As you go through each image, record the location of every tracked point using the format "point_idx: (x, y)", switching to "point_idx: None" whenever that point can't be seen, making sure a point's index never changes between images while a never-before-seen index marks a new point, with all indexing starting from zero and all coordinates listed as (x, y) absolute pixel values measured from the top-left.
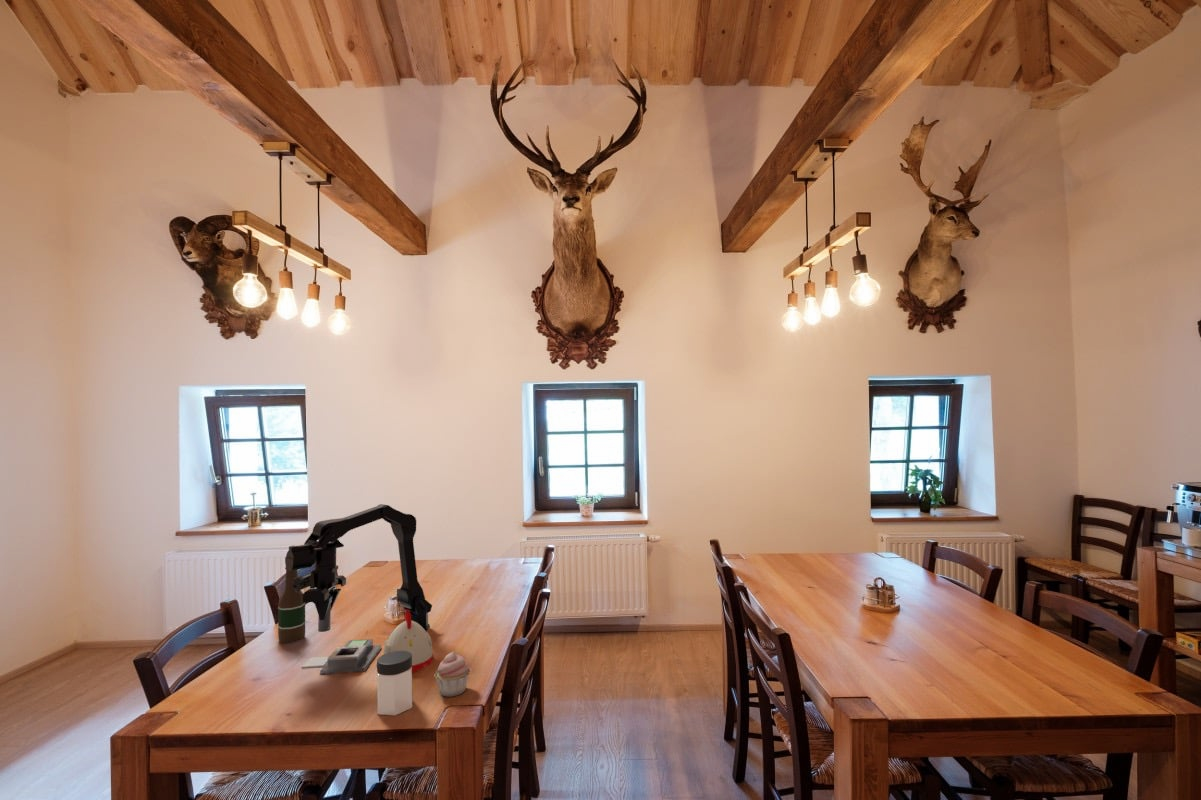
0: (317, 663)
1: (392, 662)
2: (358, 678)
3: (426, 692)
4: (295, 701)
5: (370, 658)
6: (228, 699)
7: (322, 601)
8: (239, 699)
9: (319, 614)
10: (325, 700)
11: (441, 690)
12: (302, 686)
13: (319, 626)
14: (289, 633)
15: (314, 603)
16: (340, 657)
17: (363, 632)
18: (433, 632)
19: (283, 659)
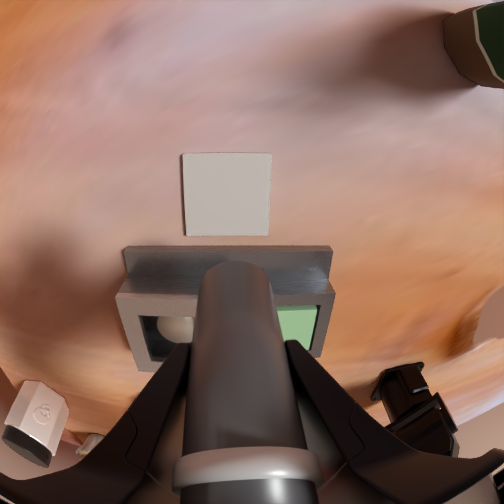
0: (206, 206)
1: (11, 448)
2: (113, 347)
3: (93, 424)
4: (4, 246)
5: None
6: (12, 58)
7: (7, 502)
8: (6, 88)
9: (154, 381)
10: (22, 306)
11: (86, 439)
12: (56, 226)
13: (200, 296)
14: (463, 37)
15: (74, 467)
16: (126, 333)
17: (452, 264)
18: (363, 407)
19: (293, 43)
